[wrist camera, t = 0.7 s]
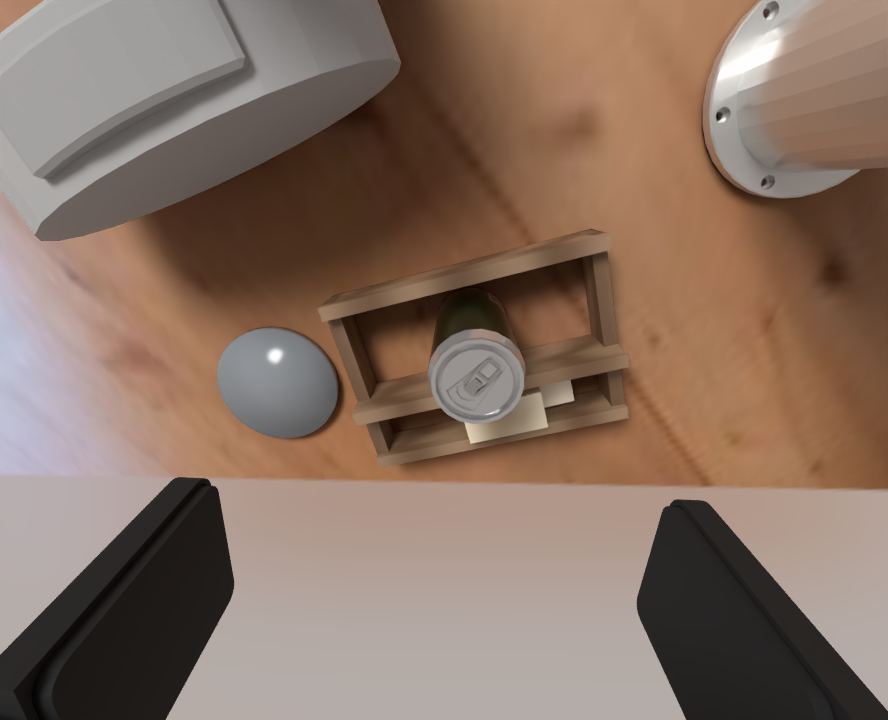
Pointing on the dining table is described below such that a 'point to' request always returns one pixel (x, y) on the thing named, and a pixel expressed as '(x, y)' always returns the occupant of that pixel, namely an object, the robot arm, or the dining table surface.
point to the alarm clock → (170, 98)
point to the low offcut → (557, 393)
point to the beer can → (475, 359)
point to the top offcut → (513, 419)
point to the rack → (541, 362)
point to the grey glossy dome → (278, 382)
